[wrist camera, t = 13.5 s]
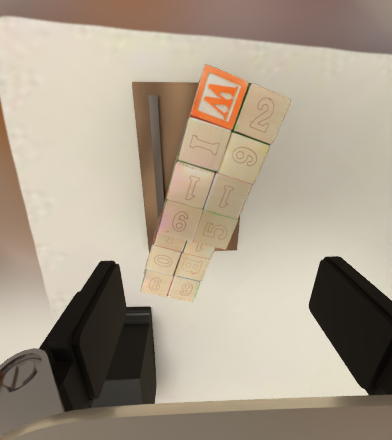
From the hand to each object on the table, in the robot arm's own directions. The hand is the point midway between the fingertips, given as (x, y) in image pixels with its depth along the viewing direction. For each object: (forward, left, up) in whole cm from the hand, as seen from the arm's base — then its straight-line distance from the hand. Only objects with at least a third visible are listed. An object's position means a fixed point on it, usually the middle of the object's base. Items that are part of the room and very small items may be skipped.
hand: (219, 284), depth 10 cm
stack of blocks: (+1, +1, -20) cm, 20 cm away
